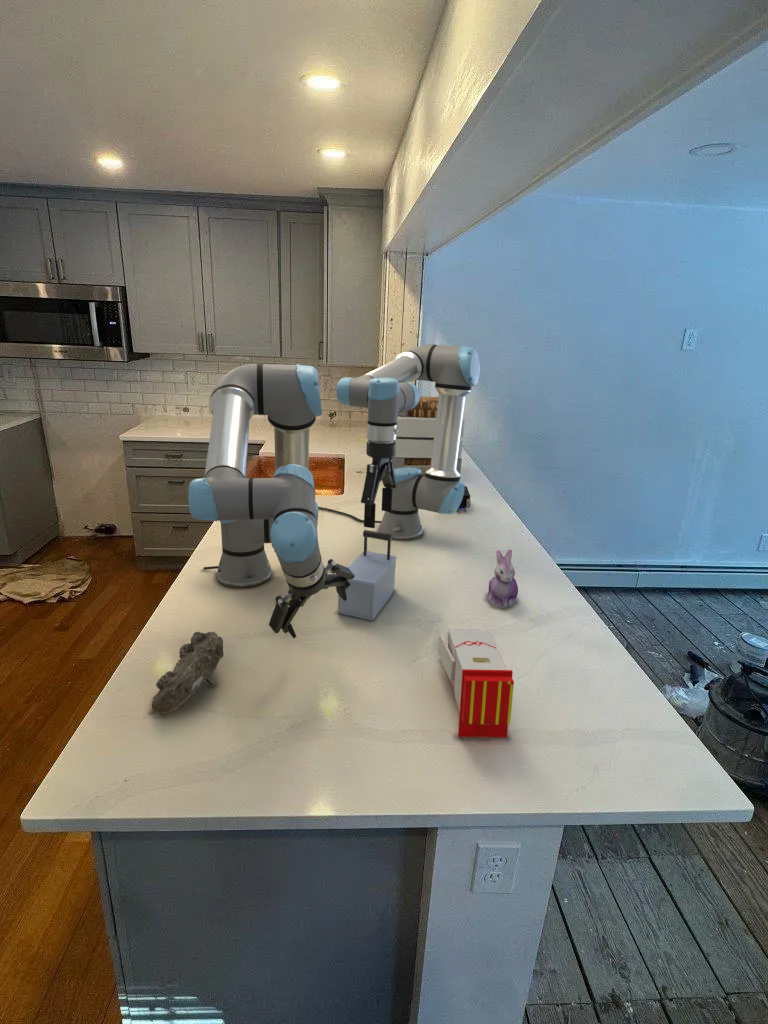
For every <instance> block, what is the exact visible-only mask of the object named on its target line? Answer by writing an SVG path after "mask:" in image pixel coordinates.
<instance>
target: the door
mask: <svg viewBox="0 0 768 1024" xmlns="http://www.w3.org/2000/svg"><path fill="white" fill-rule="evenodd" d="M362 536H363V551H362V552H361V553H360V555H358V556H357V557H356V558H355V559H354V560H353V562H351V564H350V565H349V566H347V567H348V568H349V569H350V571H351V572H352V573H353V574H354V575H355V577H354V578H353V579H349V580H348V581H350V582H355V583H360V584H365V585H370V586H375V585H376V583H377V582H378V581H379V580H380V578H381V577H382V576H383V575H384V574H385V572H386V571H387V570H388V569H389V567H390V566H391V565H392V564H393V562H394V561H395V560H396V561H397V556H396V555H391V548H392V541H393V539H392V534H387V533H381V532H379V531H376V530H375V531H374V530H368V529H364V530H363V532H362ZM370 538H371V539H375V540H380V541H387V550H386V551H387V552H386V554H385V553H381V552H380V553H379V552H375V551H370V550H368V539H370Z"/></svg>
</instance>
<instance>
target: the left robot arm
mask: <svg viewBox="0 0 768 1024" xmlns="http://www.w3.org/2000/svg"><path fill="white" fill-rule="evenodd" d="M209 409H210V413H211V415H212V419H211V426H210V433H209V441H208V448H207V455H206V461H205V469H204V475H203V476H204V477H201V478H193V479H192V480H191V481H190V482H189V485H188V507H189V513H190V516H191V517H192V518H193V519H194V520H196V521H211V522H218V521H219V522H220V535H221V549H222V553H221V556H220V559H219V563H218V565H214V566H213V565H212V566H203V568H202V569H203V570H204V571H205V570H216V569H217V570H216V578H217V581H218V582H219V583H220V584H221V585H224V586H227V587H231V588H250V587H256V586H259V585H262V584H264V583H265V582H268V581H269V580H270V578H271V577H272V566H271V562H270V560H269V559H268V556H267V553H266V551H265V544H271V547H272V549H273V550H274V553H275V555H276V557H277V560H278V562H279V565H280V567H281V571H282V573H283V576H284V579H285V582H286V584H287V586H288V591H287V594H285V595H284V596H281V594H278V595H277V596H275V604H274V608H273V611H272V614H271V616H270V619H269V622H268V625H269V627H270V629H271V630H272V632H273V633H274V634H275V635H277V634H279V633H280V632H281V631H282V632H283V633H284V634H287V633H289V634H290V636H291V637H292V639H296V638H297V634H296V632H295V630H294V627H293V625H292V623H291V622H292V621H293V619H294V617H295V616H296V614H297V613H298V611H299V610H300V608H302V607H304V605H306V603H307V601H308V600H309V599H310V598H311V597H312V596H314V595H317V594H318V593H319V592H321V590H328V589H329V588H332V587H333V588H334V587H335V589H336V593H337V594H338V597H339V596H340V597H341V598H342V599H343V600H344V601H346V600H347V596H346V591H345V590H346V589H347V588H348V587H349V586H350V585H351V584H350V583H349V582H348V580H349V579H353V578H354V577H355V575H354V574H353V573H352V572H351V571H350V569H349V568H348V567H349V566H345V565H342V564H340V563H336V561H335V560H333V558H330V559H328V560H327V564H326V566H324V561H323V558H322V554H321V550H320V545H319V536H318V524H319V523H318V520H319V509H318V507H319V506H318V502H317V501H316V489H315V481H314V476H313V474H312V472H311V471H310V469H309V464H310V463H309V462H310V459H309V457H310V428H311V427H313V426H314V425H315V423H316V419H317V417H320V416H322V414H323V409H322V399H321V391H320V382H319V373H318V370H317V369H316V368H315V367H314V366H312V365H306V364H305V365H304V364H303V365H302V364H299V363H296V364H276V363H275V364H273V363H246V364H242V365H240V366H237V367H235V368H234V369H231V370H230V371H228V372H227V373H226V374H224V376H222V377H221V378H220V379H219V381H218V382H217V383H216V384H215V386H214V388H213V390H212V392H211V393H210V398H209ZM257 415H258V416H267V421H268V423H269V425H271V426H272V427H273V432H274V435H273V436H274V437H273V438H274V468H275V469H274V470H275V471H274V473H273V477H257V478H256V477H247V473H248V472H247V470H248V452H249V433H250V432H249V431H250V420H251V419H252V418H253V416H257Z"/></svg>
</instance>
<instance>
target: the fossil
mask: <svg viewBox="0 0 768 1024" xmlns="http://www.w3.org/2000/svg"><path fill="white" fill-rule="evenodd" d="M178 654H179V660H178V661H177V663H176V664H175V666H174V668H173V670H172V671H171V670H170V671H166V672H165V673H164V674H163V675H161V676H160V677H159V678H158V679H157V682H156V683H155V687H157V689H158V691H157V693H156V694H155V695H154V696H152V700H151V709H152V711H153V712H157V713H158V714H165V713H170V712H174V711H176V710H177V709H178V708H179V707H180V706H181V705H182V704H184V703H185V702H186V701H187V700H188V699H189V698H190V697H191V696H193V695H194V694H195V693H196V692H197V691H198V689H199V688H200V686H201V685H202V684H204V682H206V683H208V684H209V686H212V687H213V686H214V683H212V681H211V680H209V678H208V677H209V675H210V674H213V673H214V671H215V670H216V669H217V667H218V665H219V663H220V661H221V660H222V659H223V658H224V654H225V653H224V640H223V638H222V637H221V636H218V634H217V633H216V632H215V631H208V632H207V631H206V632H205V633H204V632H200V631H195V632H193V634H192V636H191V638H190V642H187V643H184V644H183V645H182V646H180V648H179V653H178Z"/></svg>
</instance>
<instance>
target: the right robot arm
mask: <svg viewBox="0 0 768 1024" xmlns="http://www.w3.org/2000/svg"><path fill="white" fill-rule="evenodd" d="M480 375H481V364H480V357H479V354H478V352H477V351H476V350H475V348H473V347H470V346H463V345H446V344H434V343H429V344H422V345H419V346H415V347H412V348H410V349H407V350H404V351H402V352H400V353H399V354H397V356H396V357H395V359H394V360H391V361H390V362H388V363H385V364H382V365H381V366H379V367H377V368H375V369H373V370H371V371H369V372H367V373H365V374H363V375H360V376H358V377H352V376H350V377H342V378H340V379H339V381H338V382H337V385H336V389H335V393H336V399H337V401H338V402H339V403H340V404H341V405H343V406H349V407H355V408H364V409H367V422H366V439H367V441H366V447H365V449H366V455H367V457H369V458H371V459H372V461H371V463H367V465H366V475H365V479H364V485H363V489H362V495H361V499H360V503H361V504H364V508H363V509H364V514H363V519H361V518H358V517H357V516H354V515H352V514H350V513H347V512H343V511H339V510H336V509H331V508H328V507H323V506H318V510H321V511H322V510H323V511H328V512H331V513H336V514H339V515H343V516H347V517H348V518H352V519H354V520H356V521H358V522H361V523H363V527H364V528H370V529H375V527H376V524H379V526H378V532H381V533H387V534H392V540H395V541H410V540H415V539H418V538H420V537H421V536H422V535H423V525H422V524H421V518H420V515H419V510H423V511H427V512H432V513H437V514H439V515H442V514H444V515H453V514H454V513H456V512H457V509H458V507H459V506H460V504H461V501H462V498H463V495H464V490H465V487H464V486H466V485H465V483H464V482H463V481H462V480H461V474H459V473H458V471H457V470H456V467H457V460H458V452H459V444H460V439H461V438H460V436H461V428H462V420H463V419H464V412H465V403H466V397H467V395H469V394H470V393H471V392H472V387H475V386H477V385H478V384H479V379H480ZM415 381H425V382H432V383H434V389H435V391H436V392H437V393H438V396H437V397H438V406H437V415H436V423H435V432H434V441H433V449H432V458H431V465H430V466H429V468H427V469H426V470H425V471H424V472H425V473H424V474H422V470H421V468H419V467H415V466H411V467H410V466H406V467H405V466H404V468H397V469H394V464H393V457H394V456H395V454H396V443H395V440H396V433H398V429H397V416H398V413H401V412H407V411H409V410H411V409H413V408H414V407H415V406H416V405H417V404H418V402H419V399H420V397H421V394H420V391H419V388H418V386H416V385H415V384H414V383H413V382H415ZM380 483H382V485H383V487H382V489H381V494H382V495H381V508H380V509H381V512H384V513H383V515H382V519H381V520H376V507H377V506H376V505H377V504H376V502H375V501H376V498H377V494H378V492H379V491H378V490H379V487H380Z"/></svg>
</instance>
